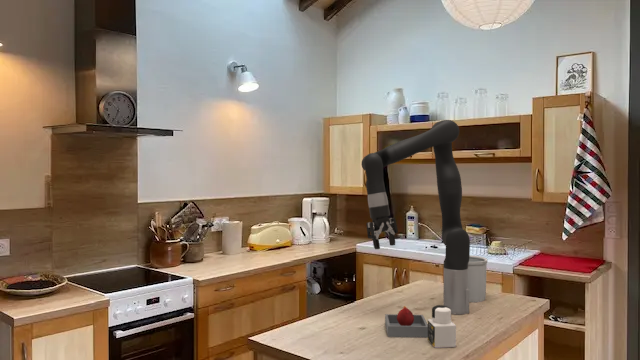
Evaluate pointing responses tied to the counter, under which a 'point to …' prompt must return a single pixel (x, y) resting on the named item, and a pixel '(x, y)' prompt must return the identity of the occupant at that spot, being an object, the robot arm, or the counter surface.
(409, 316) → the onion
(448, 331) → the medicine bottle
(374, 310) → the counter surface
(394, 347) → the counter surface
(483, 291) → the utensil holder
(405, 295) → the counter surface
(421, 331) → the slate grey tray
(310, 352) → the counter surface
